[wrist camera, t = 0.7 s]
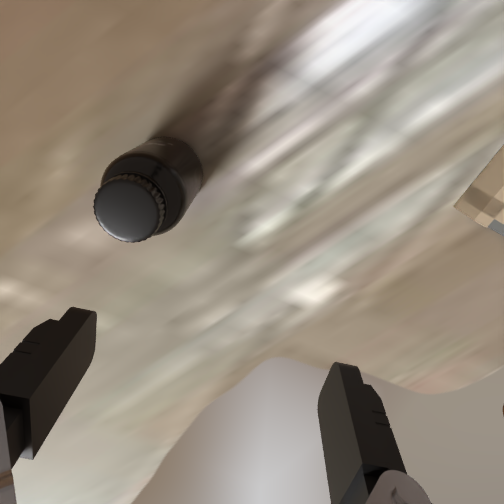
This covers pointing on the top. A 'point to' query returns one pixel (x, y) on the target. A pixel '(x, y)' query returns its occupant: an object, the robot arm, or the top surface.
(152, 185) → the supplement bottle
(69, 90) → the top surface
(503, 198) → the tray
